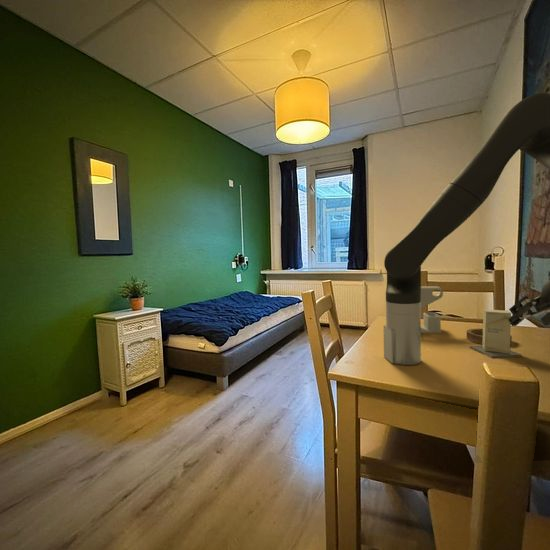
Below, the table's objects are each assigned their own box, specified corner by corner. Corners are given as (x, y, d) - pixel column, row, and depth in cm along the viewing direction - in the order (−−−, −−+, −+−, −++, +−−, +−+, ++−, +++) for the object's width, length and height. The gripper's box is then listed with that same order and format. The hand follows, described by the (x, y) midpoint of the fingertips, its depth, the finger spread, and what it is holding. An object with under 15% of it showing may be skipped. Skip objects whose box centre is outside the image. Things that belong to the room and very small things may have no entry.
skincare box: (484, 351, 87) (485, 311, 87) (481, 346, 91) (482, 308, 91) (510, 353, 85) (511, 312, 84) (506, 349, 88) (507, 310, 88)
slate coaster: (490, 357, 84) (490, 355, 84) (469, 347, 93) (469, 346, 93) (521, 356, 84) (521, 354, 84) (497, 346, 93) (497, 344, 93)
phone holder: (434, 326, 120) (434, 283, 118) (443, 333, 110) (443, 286, 108) (390, 326, 123) (389, 284, 122) (394, 332, 113) (394, 287, 112)
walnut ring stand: (483, 346, 94) (483, 338, 93) (459, 335, 106) (459, 329, 106) (520, 345, 94) (520, 337, 93) (492, 334, 106) (492, 328, 106)
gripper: (594, 271, 67) (545, 310, 79) (532, 272, 67) (493, 311, 79) (620, 297, 62) (564, 335, 74) (553, 298, 62) (508, 336, 74)
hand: (527, 322), depth 76 cm, fingers open, 8 cm apart
